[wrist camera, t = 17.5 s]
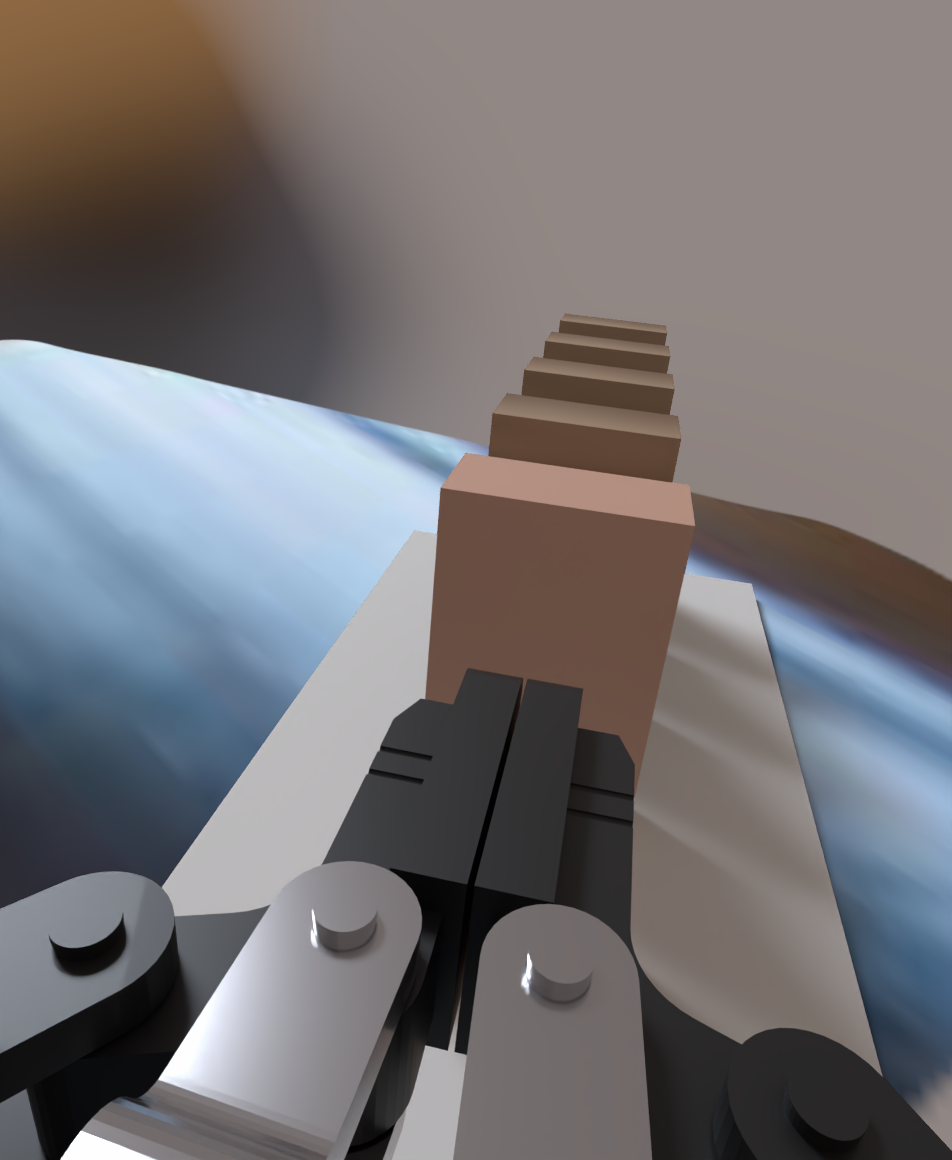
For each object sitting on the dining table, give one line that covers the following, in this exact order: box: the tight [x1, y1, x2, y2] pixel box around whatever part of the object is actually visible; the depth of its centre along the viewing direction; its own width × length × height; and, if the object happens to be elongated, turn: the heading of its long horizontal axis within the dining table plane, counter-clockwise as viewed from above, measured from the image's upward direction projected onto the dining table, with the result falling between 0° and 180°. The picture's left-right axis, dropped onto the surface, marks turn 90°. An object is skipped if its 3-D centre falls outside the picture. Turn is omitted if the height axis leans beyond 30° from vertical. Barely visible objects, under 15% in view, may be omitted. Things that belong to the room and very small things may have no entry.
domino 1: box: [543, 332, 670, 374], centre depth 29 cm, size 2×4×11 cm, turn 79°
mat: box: [162, 530, 883, 1160], centre depth 24 cm, size 34×16×1 cm, turn 169°
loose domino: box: [425, 453, 695, 801], centre depth 16 cm, size 2×4×11 cm, turn 79°
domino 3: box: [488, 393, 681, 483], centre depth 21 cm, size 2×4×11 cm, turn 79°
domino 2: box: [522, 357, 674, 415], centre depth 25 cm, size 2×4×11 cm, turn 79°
